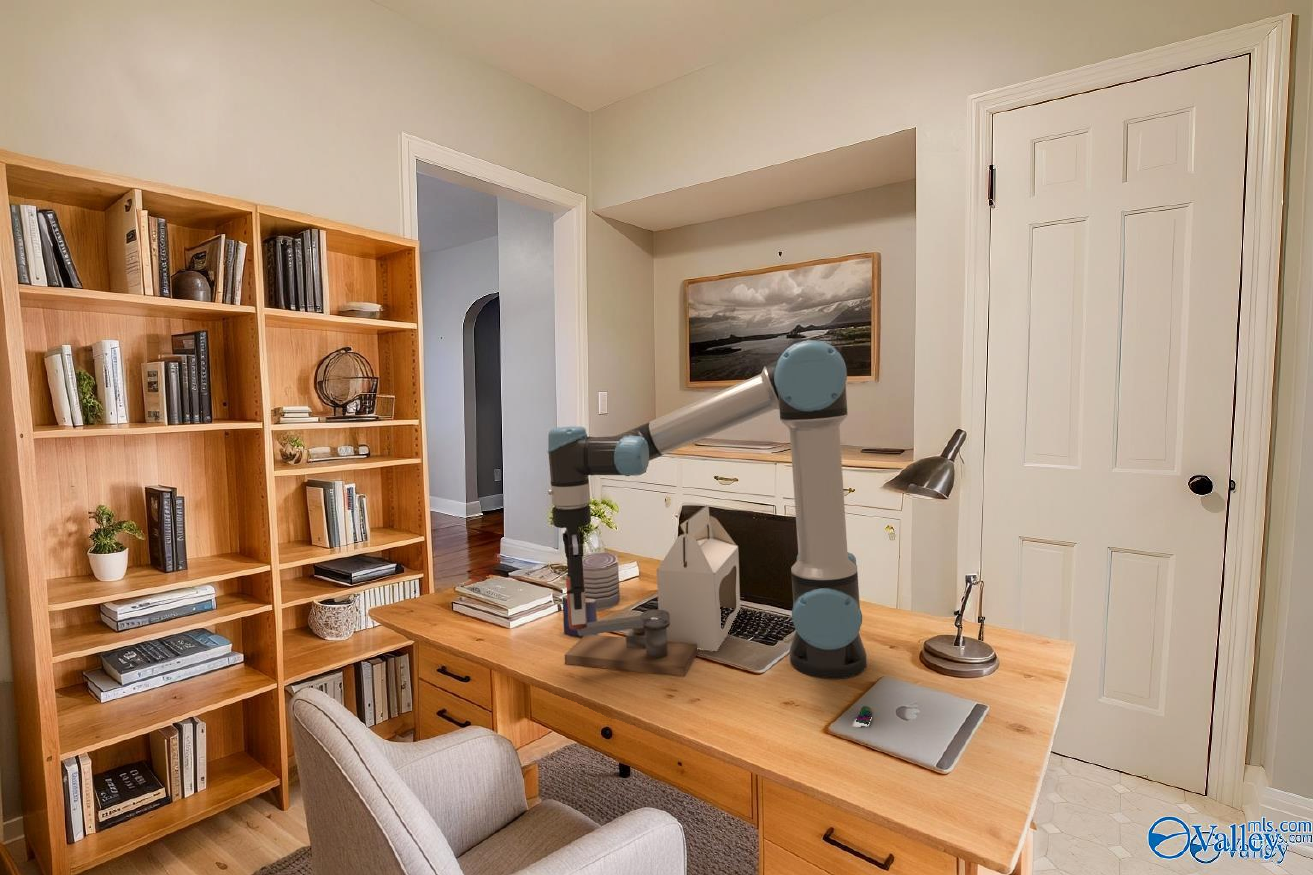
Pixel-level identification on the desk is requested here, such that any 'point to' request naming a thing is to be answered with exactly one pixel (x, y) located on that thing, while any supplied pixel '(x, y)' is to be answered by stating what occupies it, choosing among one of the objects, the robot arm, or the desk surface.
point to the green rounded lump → (864, 715)
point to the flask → (590, 616)
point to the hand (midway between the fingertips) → (577, 619)
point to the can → (601, 579)
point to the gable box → (700, 582)
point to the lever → (619, 620)
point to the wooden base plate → (634, 652)
